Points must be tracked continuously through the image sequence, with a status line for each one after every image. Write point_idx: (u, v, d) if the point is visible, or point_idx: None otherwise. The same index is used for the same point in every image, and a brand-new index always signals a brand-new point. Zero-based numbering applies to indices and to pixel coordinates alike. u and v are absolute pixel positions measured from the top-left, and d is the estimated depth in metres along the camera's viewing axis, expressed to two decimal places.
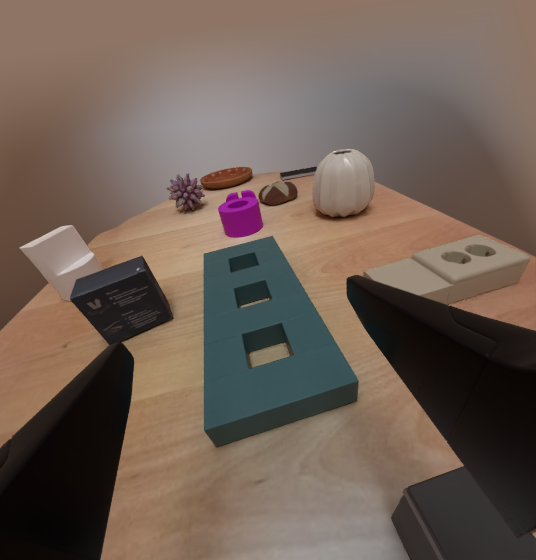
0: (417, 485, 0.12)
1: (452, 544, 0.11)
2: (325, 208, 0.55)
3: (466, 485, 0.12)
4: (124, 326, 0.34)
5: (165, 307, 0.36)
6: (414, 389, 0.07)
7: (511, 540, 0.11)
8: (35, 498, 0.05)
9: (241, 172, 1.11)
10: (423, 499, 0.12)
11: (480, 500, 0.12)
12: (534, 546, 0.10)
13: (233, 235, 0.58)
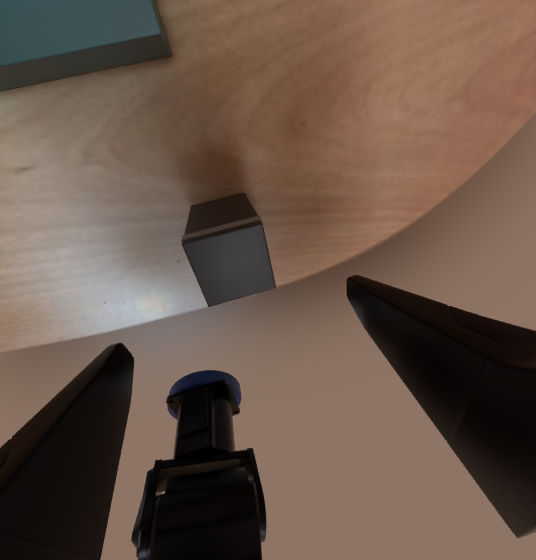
0: (192, 242, 0.11)
1: (207, 279, 0.13)
2: None
3: (241, 242, 0.12)
4: None
5: None
6: (414, 389, 0.07)
7: (254, 274, 0.13)
8: (35, 498, 0.05)
9: None
10: (194, 253, 0.12)
11: (247, 252, 0.12)
12: (267, 276, 0.13)
13: None
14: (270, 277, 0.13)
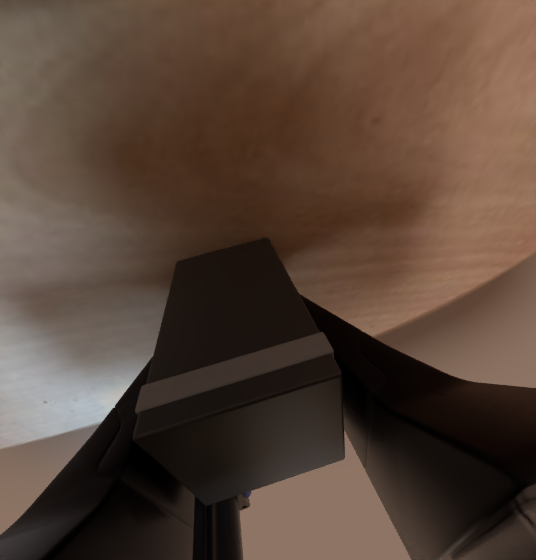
0: (161, 433, 0.04)
1: (203, 476, 0.05)
2: None
3: (287, 412, 0.05)
4: None
5: None
6: None
7: (306, 452, 0.06)
8: (148, 462, 0.05)
9: None
10: (168, 448, 0.05)
11: (296, 425, 0.05)
12: (334, 449, 0.06)
13: None
14: (338, 449, 0.06)
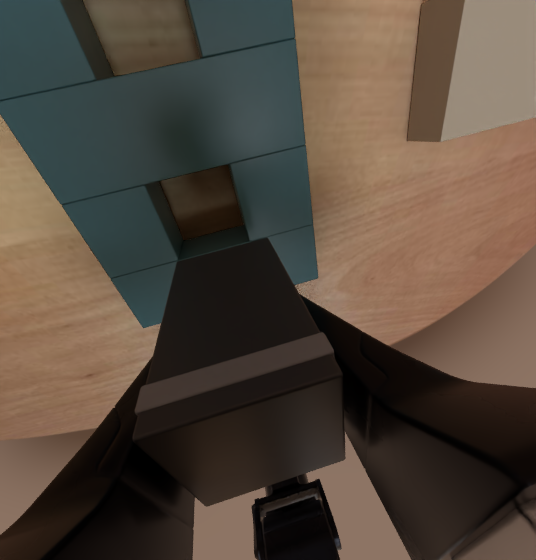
0: (161, 434, 0.04)
1: (203, 477, 0.05)
2: None
3: (287, 413, 0.05)
4: None
5: None
6: None
7: (306, 452, 0.06)
8: (147, 462, 0.05)
9: None
10: (168, 449, 0.05)
11: (297, 426, 0.05)
12: (334, 450, 0.06)
13: None
14: (339, 449, 0.06)
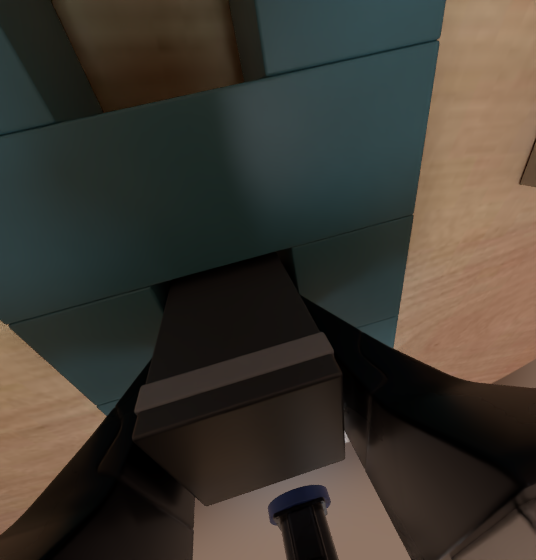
0: (161, 433, 0.04)
1: (202, 477, 0.05)
2: None
3: (287, 412, 0.05)
4: None
5: None
6: None
7: (306, 452, 0.06)
8: (148, 462, 0.05)
9: None
10: (168, 449, 0.05)
11: (296, 426, 0.05)
12: (334, 449, 0.06)
13: None
14: (339, 449, 0.06)
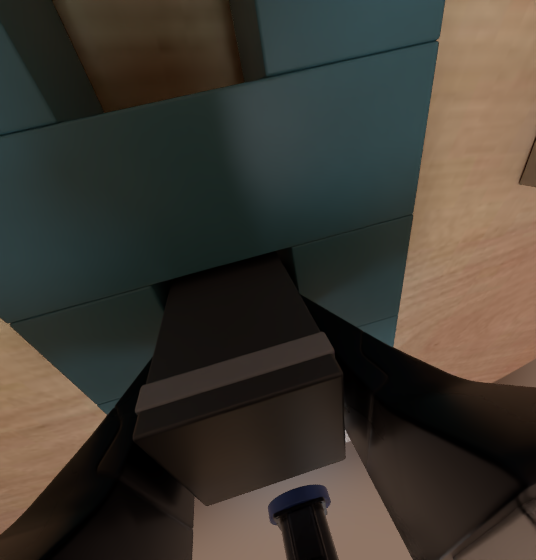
0: (161, 433, 0.04)
1: (203, 477, 0.05)
2: None
3: (287, 412, 0.05)
4: None
5: None
6: None
7: (307, 452, 0.06)
8: (147, 462, 0.05)
9: None
10: (168, 448, 0.05)
11: (297, 425, 0.05)
12: (334, 449, 0.06)
13: None
14: (339, 449, 0.06)
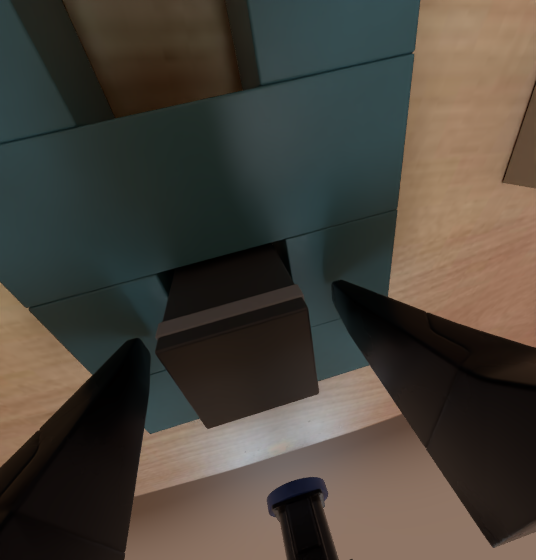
0: (175, 349, 0.06)
1: (205, 396, 0.07)
2: None
3: (268, 339, 0.06)
4: None
5: None
6: (395, 395, 0.07)
7: (286, 381, 0.08)
8: (66, 488, 0.05)
9: None
10: (180, 364, 0.06)
11: (276, 353, 0.07)
12: (308, 381, 0.08)
13: None
14: (312, 382, 0.08)
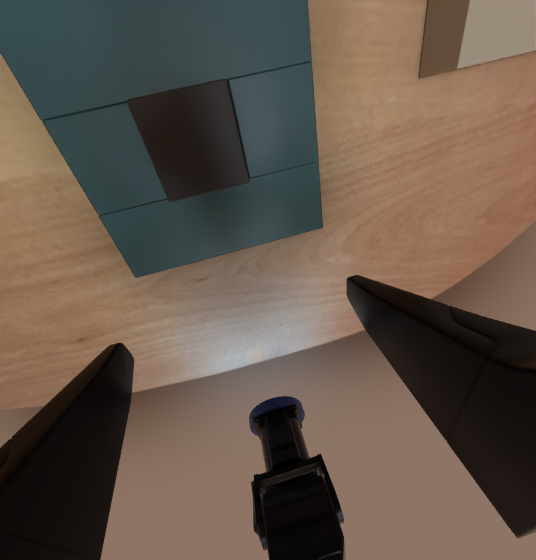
0: (140, 99, 0.09)
1: (164, 159, 0.10)
2: None
3: (202, 105, 0.10)
4: None
5: None
6: (414, 389, 0.07)
7: (221, 158, 0.11)
8: (35, 498, 0.05)
9: None
10: (144, 116, 0.10)
11: (210, 123, 0.10)
12: (238, 163, 0.11)
13: None
14: (242, 165, 0.11)
